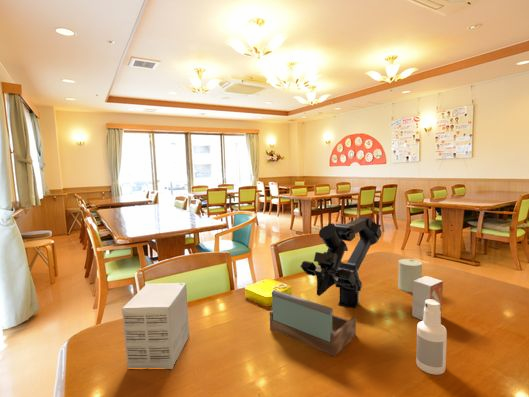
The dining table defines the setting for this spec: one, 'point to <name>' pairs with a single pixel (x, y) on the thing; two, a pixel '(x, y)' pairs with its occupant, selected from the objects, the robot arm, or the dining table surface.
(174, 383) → the dining table surface
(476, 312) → the dining table surface
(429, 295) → the small box
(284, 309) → the panel
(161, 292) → the supplement box
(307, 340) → the open wooden crate
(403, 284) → the can
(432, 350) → the spray bottle
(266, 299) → the element tile
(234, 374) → the dining table surface
